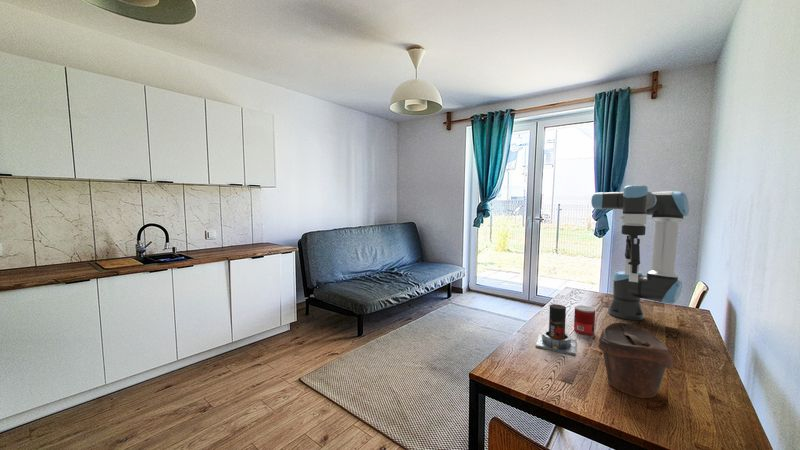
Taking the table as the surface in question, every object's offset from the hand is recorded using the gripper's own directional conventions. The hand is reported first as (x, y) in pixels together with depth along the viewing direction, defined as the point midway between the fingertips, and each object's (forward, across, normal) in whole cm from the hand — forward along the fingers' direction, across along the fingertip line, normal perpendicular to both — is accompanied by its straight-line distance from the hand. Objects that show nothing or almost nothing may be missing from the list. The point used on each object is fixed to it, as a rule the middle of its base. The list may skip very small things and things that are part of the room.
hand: (630, 278), depth 123 cm
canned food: (+29, -10, -15) cm, 34 cm away
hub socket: (+29, +11, -25) cm, 40 cm away
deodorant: (+28, +11, -25) cm, 39 cm away
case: (+29, +32, -2) cm, 43 cm away
